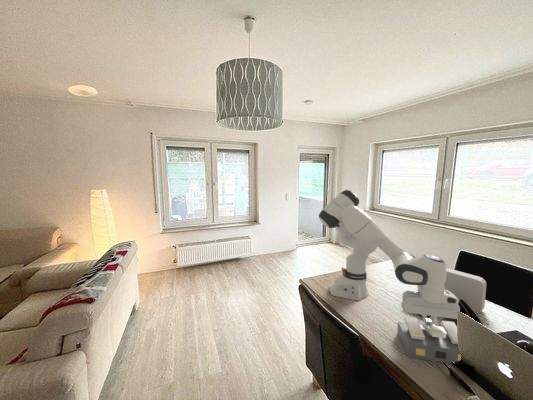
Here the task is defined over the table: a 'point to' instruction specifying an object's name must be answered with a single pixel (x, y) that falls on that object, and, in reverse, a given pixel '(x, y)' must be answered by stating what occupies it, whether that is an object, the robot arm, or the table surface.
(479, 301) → the rounded white slab
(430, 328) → the rocker
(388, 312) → the table surface
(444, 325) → the rocker
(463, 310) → the letter holder
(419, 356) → the switch console
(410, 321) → the rocker
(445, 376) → the table surface
